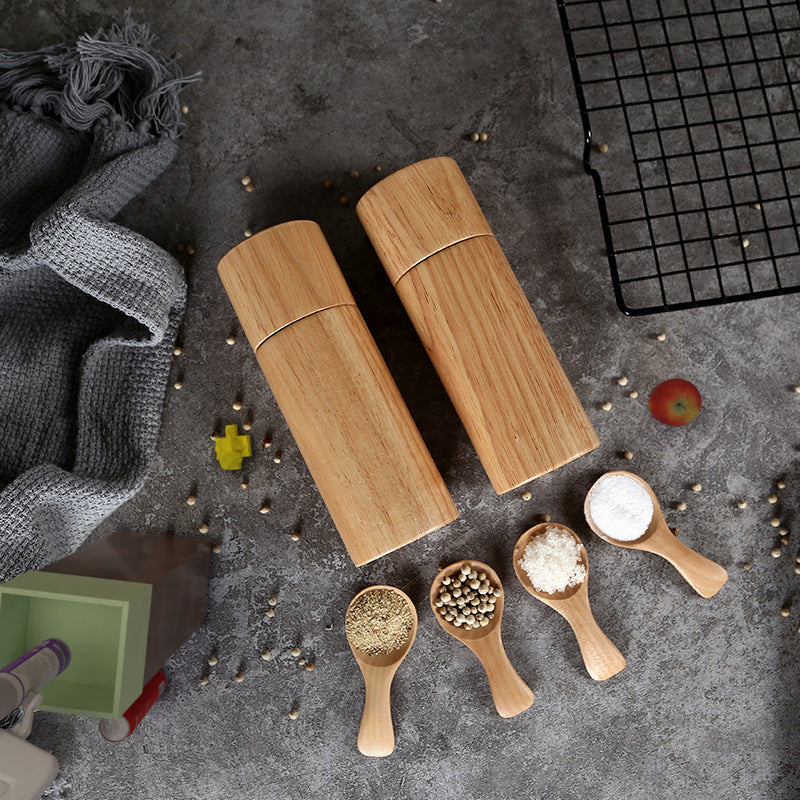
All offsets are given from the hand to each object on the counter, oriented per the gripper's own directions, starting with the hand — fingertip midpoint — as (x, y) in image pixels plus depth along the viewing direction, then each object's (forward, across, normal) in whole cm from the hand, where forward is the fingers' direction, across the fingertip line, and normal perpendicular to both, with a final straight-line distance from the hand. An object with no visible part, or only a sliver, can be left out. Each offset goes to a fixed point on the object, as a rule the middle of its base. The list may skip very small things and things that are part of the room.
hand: (14, 680), depth 74 cm
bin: (+11, 0, +12) cm, 16 cm away
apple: (+79, -66, -18) cm, 105 cm away
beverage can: (+17, -7, +44) cm, 48 cm away
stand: (+30, 0, +31) cm, 43 cm away
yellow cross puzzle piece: (+50, -1, +12) cm, 51 cm away
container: (+6, 0, +6) cm, 9 cm away
